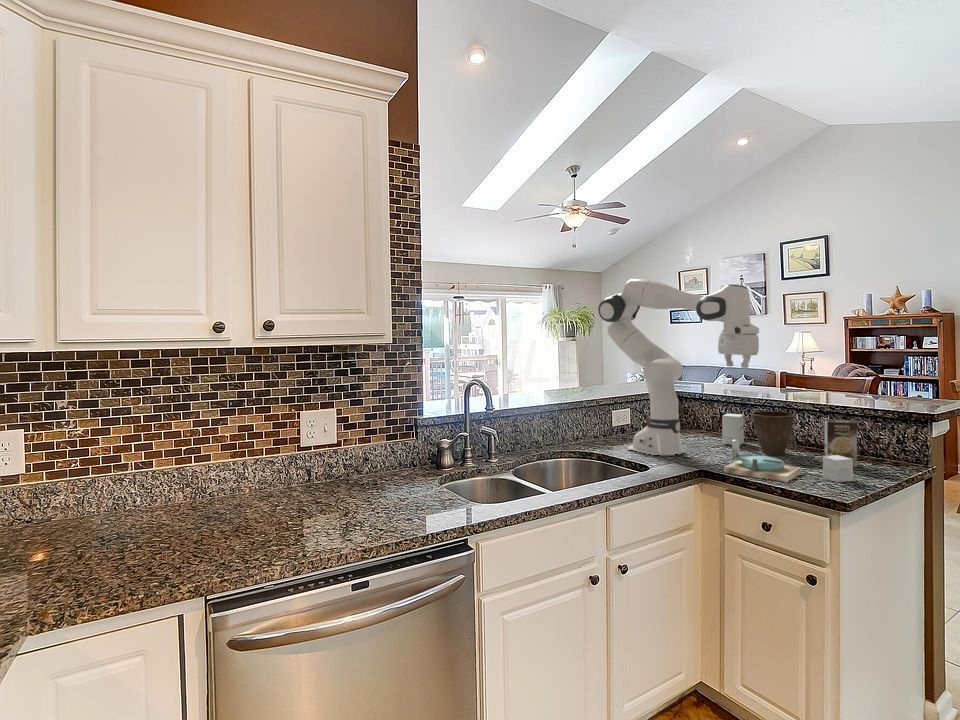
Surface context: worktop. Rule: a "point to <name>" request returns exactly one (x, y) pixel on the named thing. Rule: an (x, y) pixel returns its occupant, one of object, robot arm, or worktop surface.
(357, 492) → the worktop surface
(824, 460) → the skincare box
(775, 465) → the dial
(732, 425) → the supplement box
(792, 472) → the dial base
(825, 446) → the coffee box
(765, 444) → the plant pot
